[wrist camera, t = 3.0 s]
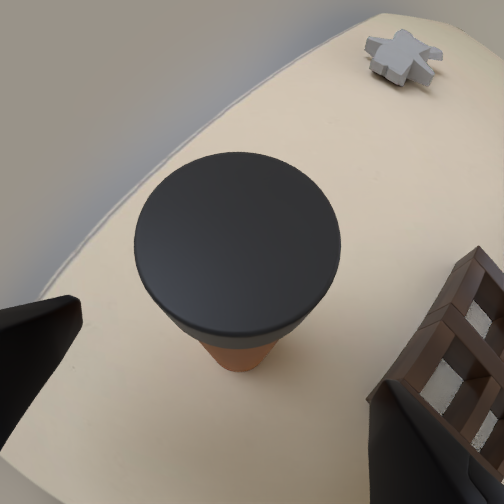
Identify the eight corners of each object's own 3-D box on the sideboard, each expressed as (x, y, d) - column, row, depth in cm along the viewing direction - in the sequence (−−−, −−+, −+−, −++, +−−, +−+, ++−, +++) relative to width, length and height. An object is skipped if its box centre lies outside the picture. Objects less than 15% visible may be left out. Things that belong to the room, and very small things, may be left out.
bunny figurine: (353, 38, 27) (398, 15, 30) (346, 70, 31) (391, 40, 35) (427, 78, 24) (454, 46, 28) (412, 109, 29) (443, 71, 32)
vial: (237, 387, 16) (232, 387, 4) (195, 342, 17) (97, 226, 5) (282, 344, 17) (379, 233, 5) (239, 302, 18) (241, 126, 6)
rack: (467, 489, 12) (493, 495, 9) (364, 399, 15) (387, 399, 13) (534, 357, 16) (558, 349, 13) (456, 261, 19) (478, 244, 17)
